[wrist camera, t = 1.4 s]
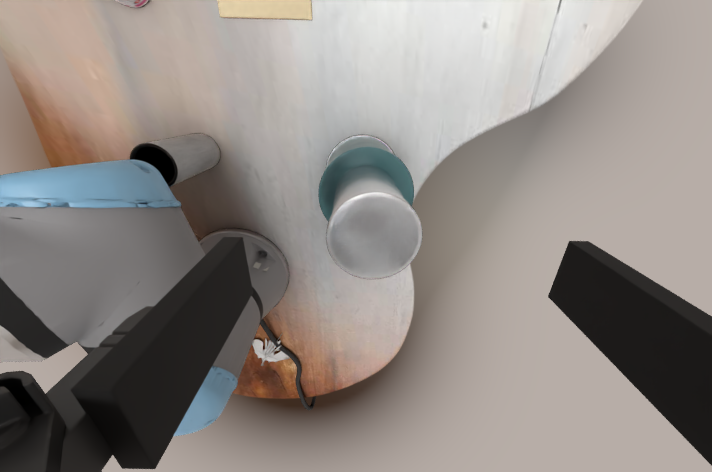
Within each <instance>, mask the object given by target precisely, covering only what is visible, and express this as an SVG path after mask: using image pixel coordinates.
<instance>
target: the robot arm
mask: <svg viewBox="0 0 712 472" xmlns="http://www.w3.org/2000/svg"><path fill="white" fill-rule="evenodd" d="M180 206H181V203H180V201H178V200H176V198H175V197H174V195H173V193H172V192H171V190H170V188H169V187H168V185H167V183H166V182H165V180H164V178H163V177H162V175H161V173H160V172H159V171H158V170H157V169H156V168H155V167H154V166H152V165H151V164H149V163H146V162H144V161H140V160H116V161H106V162H96V163H87V164H79V165H70V166H62V167H54V168H47V169H39V170H32V171H24V172H17V173H10V174H4V175H0V362H13V361H14V362H22V361H25V362H26V361H43V360H45V359H47V358H49V357H50V356H52V355H53V354H55V353H57V352H59V351H61V350H62V349H64V348H66V347H68V346H69V345H71V344H73V343H75V342H78V344H79V345H81V347H82V348H83V349H84V350H85V351H86V352H87V353H88V355H87V356H86V357H85V358H84V359H83V360H81V361H80V362H79V363H78V364H77V365H76V366H75V367H74V368H73V369H72V370H71V371H70V372H69V373H67V374H66V375H65V376H64V377H63V378H62V379H61V380H60V381H59V382H58V383H57V384H56V385H55V386H54V387H52V388H51V389H50V390H49V391H48V392H47V393H46V394H45V393H44V391H43V390H42V389H41V387H40V386H39V385H38V383H37V382H36V380H35V379H34V378H33V376H32V375H31V374H29V373H26V372H24V371H16V372H6V373H2V374H0V472H102V471H101V470H102V469H103V467H104V466H105V465H106V463H107V462H108V460H109V459H110V458H111V456H112V455H114V457H115V458H116V460H117V461H118V463H119V464H120V466H121V467H122V468H129V469H131V468H132V469H155V468H156V466H157V464H158V463H159V461H160V459H161V457H162V455H163V454H164V452H165V450H166V448H167V446H168V445H169V443H170V441H171V439H172V437H173V436H179V435H185V434H189V433H193V432H196V431H199V430H201V429H203V428H205V427H207V426H208V425H210V424H211V423H212V422H214V421H215V420H216V419H217V418H218V416H219V415H220V414H221V413H222V411H223V410H224V408H225V406H226V403H227V402H228V400H229V397H230V395H231V393H232V392H233V391H234V390H235V388H236V387H237V384H238V382H237V381H238V378H239V376H240V373H241V371H242V368H243V365H244V363H245V360H246V358H247V355H248V353H249V350H250V347H251V345H252V342H253V340H254V337H255V335H256V332H257V330H258V327H259V324H261V326H262V327H263V329H264V330H265V332H266V333H267V335H268V336H269V338H270V340H271V341H272V342H273V343H274V345H275V346H276V347H277V348H278V347H279V346H281V344H278V343H277V342H278V341H277V340H276V339H275V337H274V335H273V334H272V332H271V331H270V329H269V327H268V326H267V324H266V323H265V321H264V320H263V318H264V317H265V316H266V315H267V314H268V313H269V311H270V310H271V309H272V308H274V307H275V306H276V305H277V304H278V303H279V302H280V300H281V299H282V297H283V295H284V293H285V291H286V288H287V285H288V281H289V269H288V265H287V262H286V260H285V258H284V256H283V254H282V253H281V251H280V250H279V249H278V248H277V247H276V246H275V245H274V244H273V243H272V242H271V241H269V240H268V239H267V238H265V237H263V236H261V235H259V234H257V233H255V232H252V231H249V230H245V229H238V228H228V229H221V230H217V231H214V232H212V233H210V234H208V235H207V236H205V237H204V238H203V239H202V240H200V241H199V242H198V240H197V238H196V236H195V234H194V232H193V230H192V229H191V227H190V225H189V223H188V221H187V219H186V217H185V215H184V213H183V211H182V209H181V207H180ZM548 297H549V298H550V299H551V300H552V301H553V302H554V303H555V304H556V305H557V306H558V307H559V308H560V309H561V310H562V312H564V314H565V315H566V316H567V317H569V319H570V320H571V321H572V322H573V323H574V324H575V325H576V326H577V327H578V328H579V329H580V330H581V331H582V332H583V333H584V334H585V335H586V336H587V337H588V338H589V339H590V340H591V341H592V342H593V344H594V345H596V347H597V348H598V349H599V350H600V351H601V352H602V353H603V354H604V355H605V356H606V357H607V358H608V359H609V360H610V361H611V362H612V363H613V364H614V365H615V366H616V367H617V368H618V369H619V370H620V371H621V372H622V373H623V374H624V376H626V377H627V379H628V380H629V381H630V382H631V383H632V384H633V385H634V386H635V387H636V388H637V389H638V390H639V391H640V392H641V393H642V394H643V395H644V396H645V397H646V398H647V399H648V400H649V401H650V402H651V403H652V404H653V405H654V406H655V407H656V409H658V411H659V412H660V413H661V414H662V415H663V416H664V417H665V418H666V419H667V420H668V421H669V422H670V423H671V424H672V425H673V426H674V427H675V428H676V429H677V430H678V431H679V432H680V433H681V434H682V435H683V436H684V437H685V438H686V439H687V441H689V443H690V444H691V445H692V446H694V448H695V449H696V450H697V451H698V452H699V453H700V454H701V455H702V456H703V457H704V458H705V459H706V460H707V461H708V462H709V463H710V464H711V465H712V316H710V315H708V314H707V313H705V312H703V311H702V310H700V309H698V308H697V307H695V306H693V305H692V304H690V303H688V302H687V301H685V300H683V299H682V298H680V297H679V296H677V295H676V294H674V293H672V292H670V291H669V290H667V289H665V288H664V287H662V286H660V285H659V284H657V283H655V282H654V281H653V280H651V279H649V278H648V277H646V276H644V275H643V274H641V273H639V272H638V271H636V270H635V269H633V268H631V267H630V266H628V265H626V264H624V263H623V262H621V261H620V260H618V259H616V258H615V257H613V256H612V255H610V254H608V253H607V252H605V251H603V250H602V249H600V248H598V247H597V246H595V245H593V244H592V243H590V242H588V241H569V243H568V246H567V248H566V251H565V254H564V256H563V259H562V262H561V264H560V267H559V269H558V272H557V275H556V277H555V280H554V282H553V285H552V288H551V291H550V293H549V295H548ZM279 349H280V350H281V351H282V352H283V353H285V354H286V355H287V356H289V357H290V358H291V359H292V360H293V361H294V362H295V364H296V366H297V376H296V387H297V390H298V394H299V397H300V399H301V402H302V404H303V406H304V407H305V408H306V409H307V410H312V409H313V407H314V404H315V400H316V396H313V398H312V402H311V405H310V406H309V405H308V404H307V403H306V401H305V399H304V396H303V393H302V390H301V386H300V376H301V365H300V362H299V360H298V359H297V358H296V356H295V355H294V354H292V353H291V352H290V351H289V350H287V349H286V348H285V347H283V346H281V347H280V348H279Z"/></svg>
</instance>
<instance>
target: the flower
mask: <svg viewBox="0 0 712 472" xmlns="http://www.w3.org/2000/svg"><path fill="white" fill-rule="evenodd" d="M281 335H282V334H281ZM281 335H280V336H279V338H280V337H281ZM279 338H278V339H279ZM275 339H276V338H275ZM277 341H278V340H277ZM277 343H278V344H280V343H281V341H278V342H277ZM252 345H253V347H254V350H255V352H254V353H256V354H257V355H258V358H259V357H260V358H262V364H261V366H262V365H263V362H264V361H265V360H267V361H269V362H271V361H275V362H277V361H279V360H284V359H289V356H287V355H286V354H285V353H283V352H282V351H280V352H279V353H277V354H275V355H274V353H273V352H275V351H276V350H277V349H278V350H277V351H279V350H280V349H279V348H280V347H281V346H282V345H281V346H279V347H278V348H276V349H275V350H274V348H275V347H276V346H274V343H273V342H272V343H271V340H270V341H269V343H268V346H267V340H266V339H265V350H263V342H262V341H260V340H253V342H252ZM270 345H271V346H270ZM272 346H273V347H274V348H273V347H272ZM269 347H270V348H269ZM268 349H269V350H268ZM270 349H271V350H270ZM273 350H274V351H273ZM272 351H273V352H272ZM271 352H272V353H271ZM269 362H268V363H269ZM263 366H264V365H263Z"/></svg>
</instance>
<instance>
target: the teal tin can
mask: <svg viewBox="0 0 712 472" xmlns="http://www.w3.org/2000/svg"><path fill="white" fill-rule="evenodd" d="M363 165H371V166H376V167H379V168H381V169H383V170H385V171H386V172H387V173H388V174H389V175H390V176H391V177H392V178H393V180H394V182H395V183H396V185H397V187H398V188H399V190H400V192H401V194H402V195H403V197H404V199H405V200H406V201H407V202H408V203H409V204H410V205H411V206H412V203H413V198H414V187H413V181H412V178H411V175H410V173H409V171H408V169H407V167H406V166H405V165H404V164H403V162H402V161H401V160H400V159H399V158H398V157H396V156H395V154H394V152H393V151H392V150H391V148H390V147H389V146H388V145H387V144H386V143H385V142H383V141H382V140H380V139H379V138H376V137H374V136H370V135H354V136H351V137H348V138H346V139H344V140H343V141H341V142H340V143H339V144H337V145H336V146H335V148H334V149H333V150H332V152H331V153H330V155H329V157H328V160H327V163H326V169H325V171H324V174H323V176H322V178H321V181H320V185H319V203H320V207H321V210H322V212H323V214H324V216H325V218H326V219H327V221H328V222H329V219H330V217H331V215H332V211H333V205H334V198H335V192H336V187H337V185H338V183H339V181H340V179H341V178H342V177H343V175H344V174H345V173H347V172H348V171H349V170H351V169H353V168H355V167H358V166H363Z"/></svg>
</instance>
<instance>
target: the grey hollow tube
mask: <svg viewBox="0 0 712 472" xmlns="http://www.w3.org/2000/svg"><path fill="white" fill-rule="evenodd" d="M219 159H220V150H219V147H218V145H217V144H216V142H215V141H214V140H213V139H212V138H211V137H209V136H207V135H205V134H201V133H195V134H189V135H184V136H179V137H173V138H168V139H163V140H157V141H152V142H147V143H142V144H139V145H137V146H136V147H135V148H134V149H133V150H132V152H131V155H130V160H140V161H144V162H146V163H149V164H151V165H152V166H154V167H155V168H156V169H157V170H158V171H159V172H160V173H161V175H162V177H163V178H164V180H165V182H166V183H167V185H168V187H171V186H173V185H175V184H177V183H180V182H182V181H184V180H186V179H188V178H191V177H193V176H195V175H197V174H199V173H201V172H204V171H206V170H208V169H210V168H212V167H214V166H215V165H216V164H217V163H218V161H219Z"/></svg>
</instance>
